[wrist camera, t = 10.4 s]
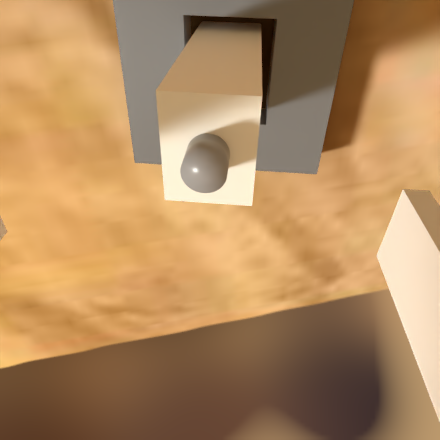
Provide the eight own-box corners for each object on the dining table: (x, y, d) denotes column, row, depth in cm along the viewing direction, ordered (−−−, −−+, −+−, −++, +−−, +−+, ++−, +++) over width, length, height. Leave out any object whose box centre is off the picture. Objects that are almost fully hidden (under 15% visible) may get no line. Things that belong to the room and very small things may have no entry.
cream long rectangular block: (202, 94, 28) (157, 221, 16) (201, 21, 25) (145, 106, 13) (255, 97, 28) (251, 228, 15) (261, 23, 25) (262, 113, 12)
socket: (144, 145, 31) (134, 163, 28) (120, -66, 22) (102, -66, 20) (312, 155, 30) (317, 175, 28) (354, -59, 22) (367, -58, 19)
